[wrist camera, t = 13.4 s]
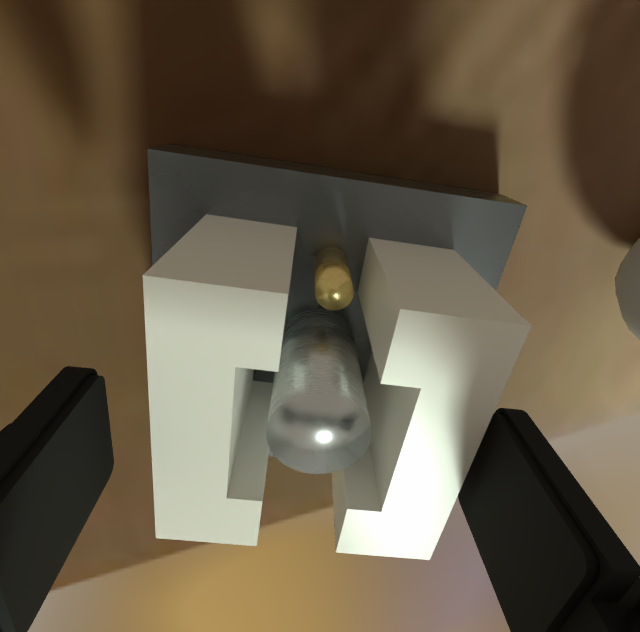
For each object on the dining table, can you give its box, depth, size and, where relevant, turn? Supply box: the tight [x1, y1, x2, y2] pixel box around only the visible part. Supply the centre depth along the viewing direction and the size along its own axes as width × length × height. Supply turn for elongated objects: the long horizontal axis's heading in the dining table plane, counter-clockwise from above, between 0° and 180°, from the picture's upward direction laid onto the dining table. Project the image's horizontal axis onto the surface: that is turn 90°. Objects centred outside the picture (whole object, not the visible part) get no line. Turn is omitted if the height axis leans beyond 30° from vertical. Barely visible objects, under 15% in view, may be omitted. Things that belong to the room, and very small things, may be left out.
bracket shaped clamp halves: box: [143, 214, 532, 560], centre depth 12 cm, size 8×8×5 cm
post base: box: [147, 144, 527, 474], centre depth 13 cm, size 11×11×6 cm
